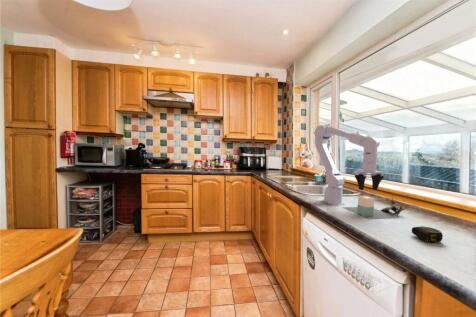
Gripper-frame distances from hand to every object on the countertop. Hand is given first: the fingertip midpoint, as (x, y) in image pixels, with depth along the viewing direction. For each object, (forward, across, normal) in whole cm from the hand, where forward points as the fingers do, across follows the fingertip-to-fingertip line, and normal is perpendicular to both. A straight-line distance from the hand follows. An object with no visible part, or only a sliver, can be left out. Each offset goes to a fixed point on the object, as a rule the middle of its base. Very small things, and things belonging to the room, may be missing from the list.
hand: (368, 189), depth 105 cm
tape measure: (+11, -6, -33) cm, 36 cm away
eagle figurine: (+11, +9, -5) cm, 15 cm away
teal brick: (+10, -7, -7) cm, 14 cm away
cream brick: (+6, -7, -7) cm, 12 cm away
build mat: (+10, -2, -4) cm, 11 cm away
